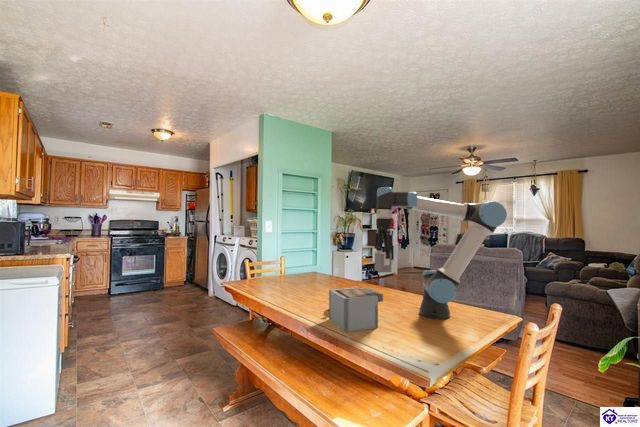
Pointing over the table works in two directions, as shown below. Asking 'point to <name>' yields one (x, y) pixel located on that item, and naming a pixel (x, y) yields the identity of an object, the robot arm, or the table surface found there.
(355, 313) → the grey box
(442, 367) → the table surface
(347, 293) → the trapdoor
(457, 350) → the table surface
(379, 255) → the basalt block
